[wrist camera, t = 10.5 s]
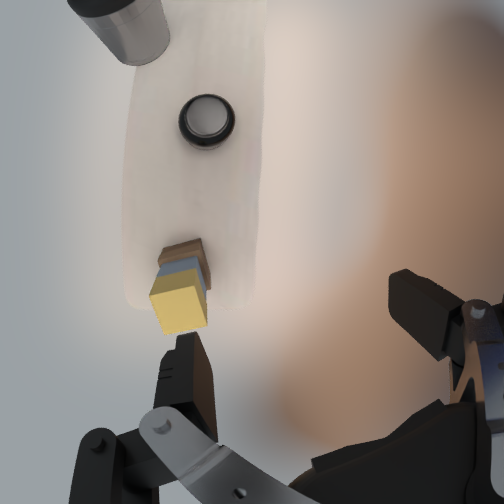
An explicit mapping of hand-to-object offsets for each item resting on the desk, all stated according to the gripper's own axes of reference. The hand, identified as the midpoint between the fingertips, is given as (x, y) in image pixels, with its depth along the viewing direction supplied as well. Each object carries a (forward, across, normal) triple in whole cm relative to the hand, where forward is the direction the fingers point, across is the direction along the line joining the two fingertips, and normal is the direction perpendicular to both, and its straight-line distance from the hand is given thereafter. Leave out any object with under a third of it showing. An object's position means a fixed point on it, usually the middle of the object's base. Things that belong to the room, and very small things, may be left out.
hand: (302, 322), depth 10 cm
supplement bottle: (+33, +1, -12) cm, 35 cm away
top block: (+22, +9, +7) cm, 25 cm away
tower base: (+33, +9, +7) cm, 35 cm away
